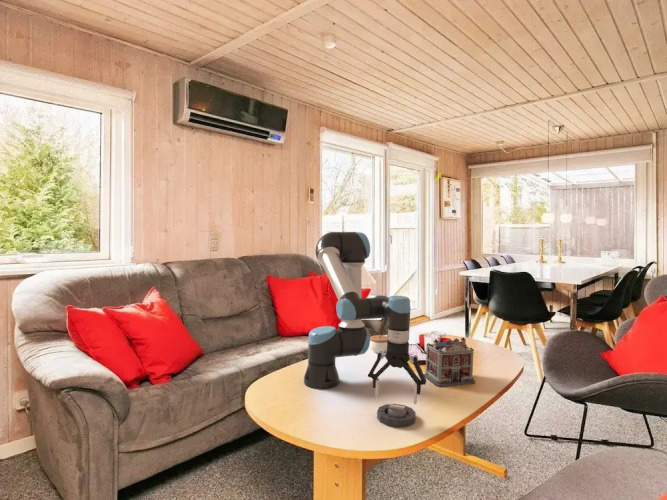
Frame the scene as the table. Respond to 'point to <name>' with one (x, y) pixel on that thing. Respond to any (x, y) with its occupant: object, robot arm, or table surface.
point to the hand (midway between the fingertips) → (396, 399)
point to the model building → (449, 363)
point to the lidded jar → (378, 343)
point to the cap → (396, 410)
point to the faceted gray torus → (396, 421)
